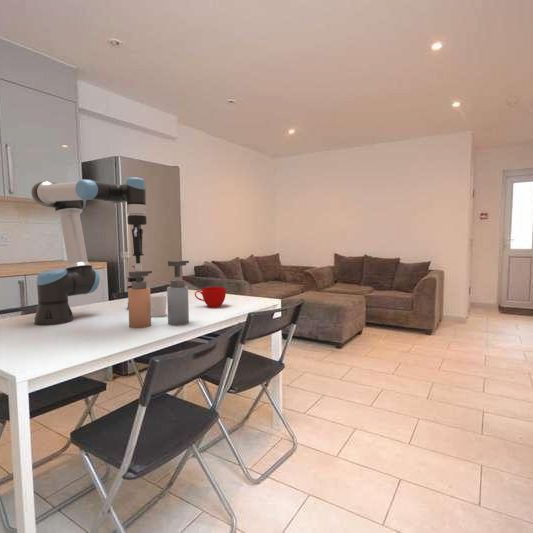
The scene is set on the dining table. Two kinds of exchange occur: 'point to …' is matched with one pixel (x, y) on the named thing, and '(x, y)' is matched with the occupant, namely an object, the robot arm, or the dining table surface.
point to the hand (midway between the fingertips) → (138, 271)
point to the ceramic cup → (213, 296)
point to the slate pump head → (177, 266)
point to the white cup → (158, 305)
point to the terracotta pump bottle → (139, 305)
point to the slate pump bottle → (178, 303)
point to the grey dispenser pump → (139, 275)
